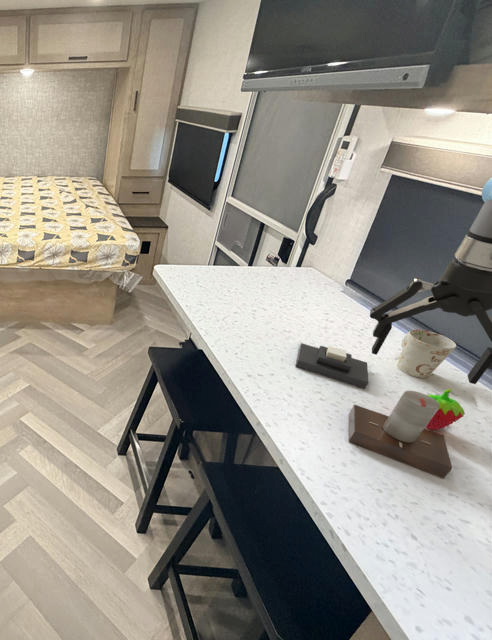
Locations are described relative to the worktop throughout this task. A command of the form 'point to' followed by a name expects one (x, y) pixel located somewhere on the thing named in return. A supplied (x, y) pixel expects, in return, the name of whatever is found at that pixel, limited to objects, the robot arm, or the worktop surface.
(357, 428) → the volume box
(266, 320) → the worktop surface
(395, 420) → the volume knob
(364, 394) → the worktop surface
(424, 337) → the mug
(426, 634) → the worktop surface
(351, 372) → the ridged dark grey block
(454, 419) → the strawberry
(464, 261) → the robot arm
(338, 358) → the cream square block
